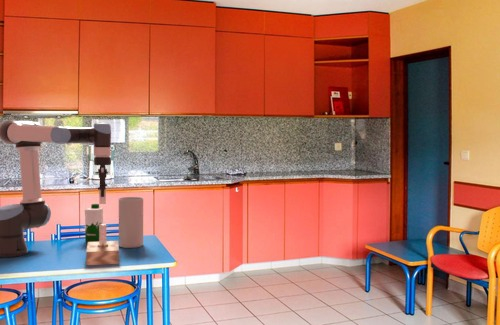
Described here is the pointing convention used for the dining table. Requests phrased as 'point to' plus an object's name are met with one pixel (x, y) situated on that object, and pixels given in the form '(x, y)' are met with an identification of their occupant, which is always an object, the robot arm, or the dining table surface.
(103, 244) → the beige wooden bar
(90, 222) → the milk carton
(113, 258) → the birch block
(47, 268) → the dining table surface
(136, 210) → the cylinder vase
